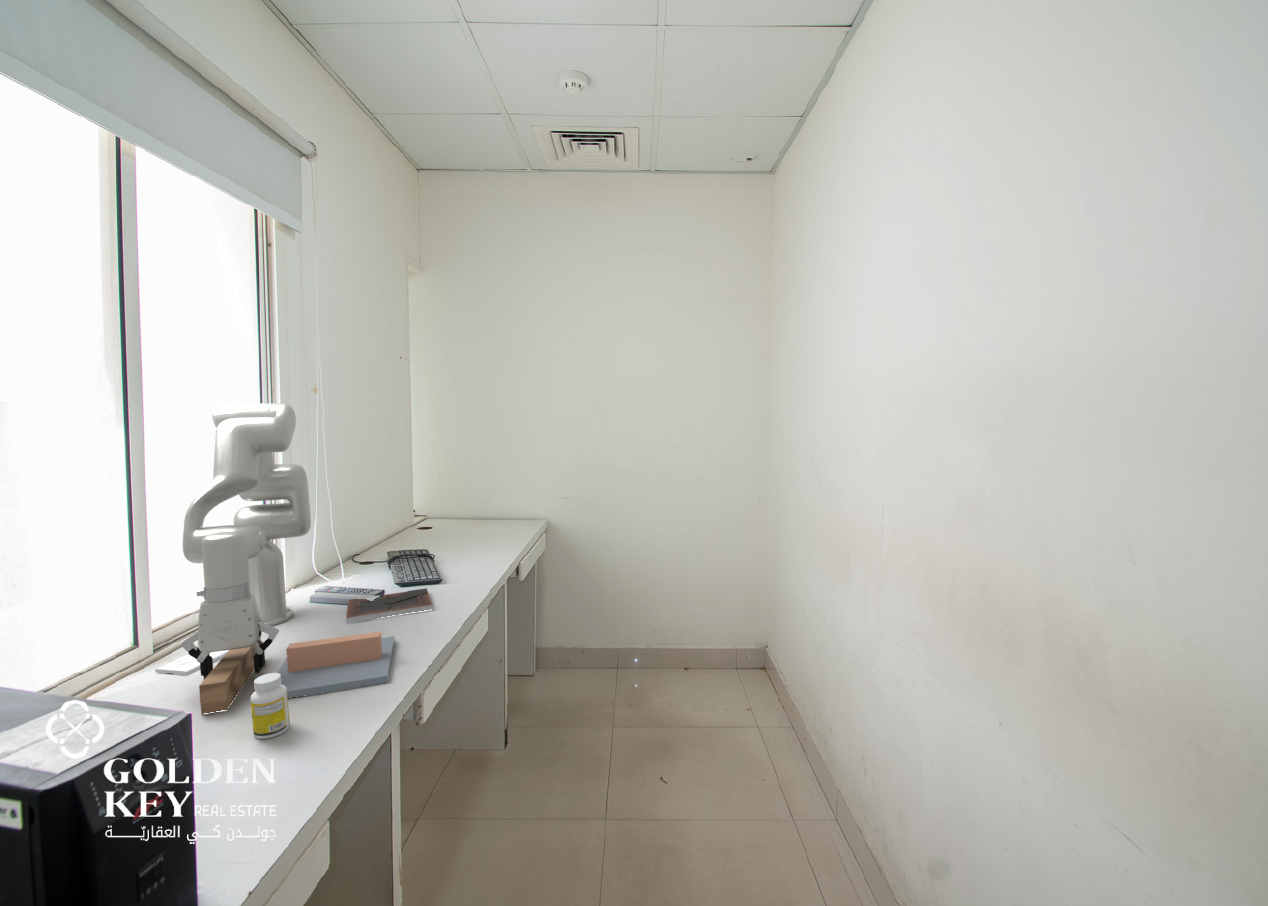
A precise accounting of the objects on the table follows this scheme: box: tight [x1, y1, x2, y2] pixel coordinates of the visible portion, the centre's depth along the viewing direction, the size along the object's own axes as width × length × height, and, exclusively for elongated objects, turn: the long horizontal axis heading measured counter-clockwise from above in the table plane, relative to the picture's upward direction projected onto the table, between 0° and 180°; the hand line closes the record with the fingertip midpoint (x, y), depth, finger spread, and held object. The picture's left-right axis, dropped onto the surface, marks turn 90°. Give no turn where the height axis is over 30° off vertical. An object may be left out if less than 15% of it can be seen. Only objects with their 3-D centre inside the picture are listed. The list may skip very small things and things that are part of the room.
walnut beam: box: [198, 636, 262, 716], centre depth 117 cm, size 24×4×6 cm, turn 20°
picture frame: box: [345, 587, 433, 625], centre depth 162 cm, size 16×2×22 cm
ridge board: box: [277, 631, 396, 699], centre depth 123 cm, size 22×22×6 cm
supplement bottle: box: [250, 672, 290, 740], centre depth 99 cm, size 5×5×10 cm
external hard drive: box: [154, 650, 229, 676], centre depth 128 cm, size 2×8×12 cm
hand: (234, 674), depth 117 cm, fingers open, 8 cm apart
